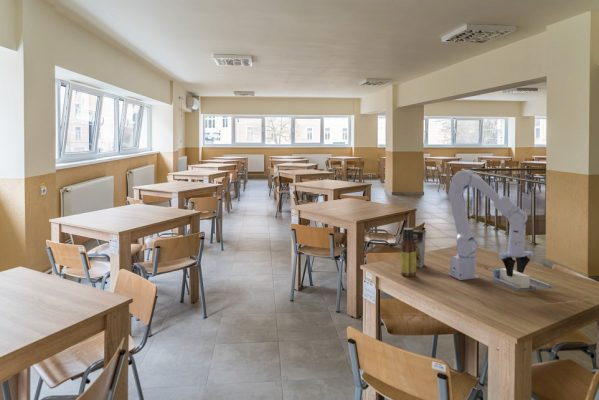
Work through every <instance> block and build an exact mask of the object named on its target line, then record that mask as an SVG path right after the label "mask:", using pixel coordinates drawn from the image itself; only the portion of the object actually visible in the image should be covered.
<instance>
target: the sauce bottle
mask: <svg viewBox="0 0 599 400" xmlns="http://www.w3.org/2000/svg"><path fill="white" fill-rule="evenodd" d="M413 229H414V228H413V227H404V228H403V229H402V233H403V232H404V239H403V238H402V241H401V243H400V272H401V273H400V274H401V276H404V277H415V276H417V267H416V243H415V242H414V240H413Z"/></svg>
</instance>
